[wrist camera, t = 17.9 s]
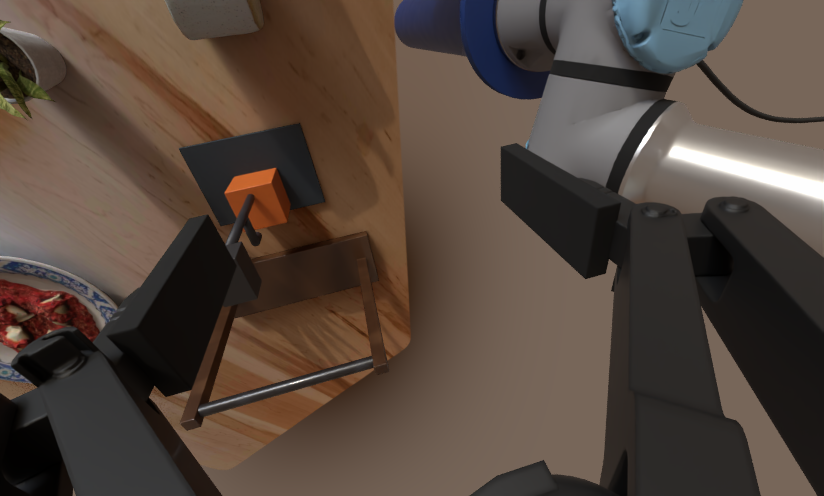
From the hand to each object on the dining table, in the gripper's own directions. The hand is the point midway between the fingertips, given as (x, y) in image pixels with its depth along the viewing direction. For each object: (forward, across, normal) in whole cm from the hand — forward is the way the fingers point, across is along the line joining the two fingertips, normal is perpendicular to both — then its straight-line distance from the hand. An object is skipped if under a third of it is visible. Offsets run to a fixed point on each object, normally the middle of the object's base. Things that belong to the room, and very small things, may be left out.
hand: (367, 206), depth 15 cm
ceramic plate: (+37, -54, -23) cm, 69 cm away
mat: (+37, -14, -9) cm, 40 cm away
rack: (+37, -14, -27) cm, 48 cm away
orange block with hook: (+36, -14, -11) cm, 40 cm away
